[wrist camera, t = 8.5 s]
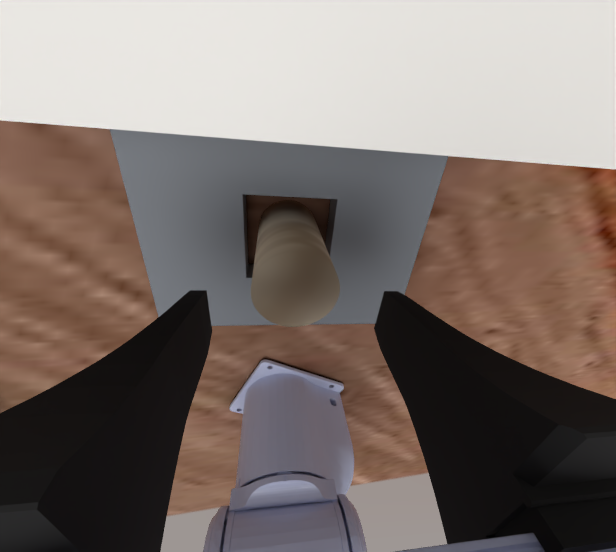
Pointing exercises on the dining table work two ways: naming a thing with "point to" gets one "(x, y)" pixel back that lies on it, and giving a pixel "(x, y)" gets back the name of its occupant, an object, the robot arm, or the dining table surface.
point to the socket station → (309, 117)
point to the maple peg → (292, 267)
